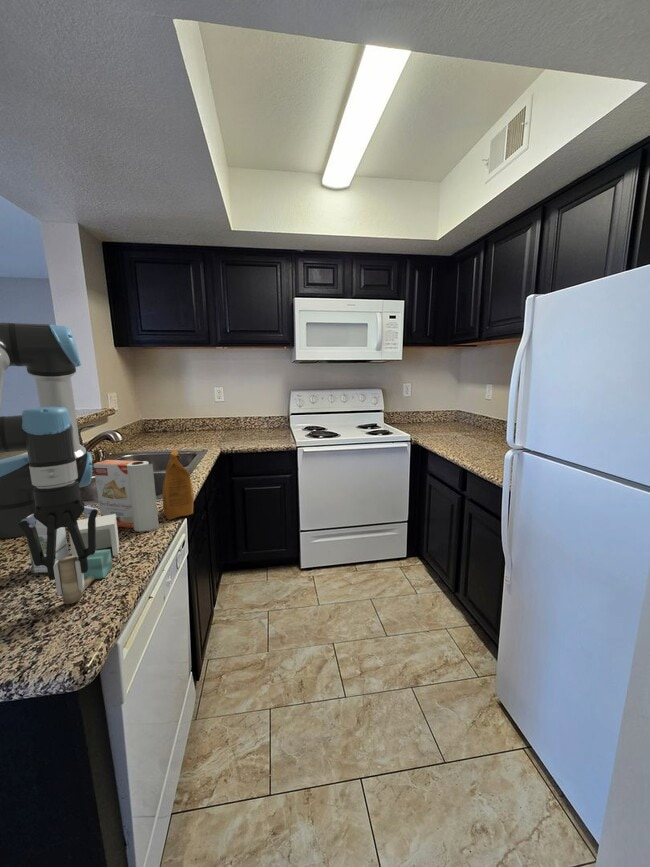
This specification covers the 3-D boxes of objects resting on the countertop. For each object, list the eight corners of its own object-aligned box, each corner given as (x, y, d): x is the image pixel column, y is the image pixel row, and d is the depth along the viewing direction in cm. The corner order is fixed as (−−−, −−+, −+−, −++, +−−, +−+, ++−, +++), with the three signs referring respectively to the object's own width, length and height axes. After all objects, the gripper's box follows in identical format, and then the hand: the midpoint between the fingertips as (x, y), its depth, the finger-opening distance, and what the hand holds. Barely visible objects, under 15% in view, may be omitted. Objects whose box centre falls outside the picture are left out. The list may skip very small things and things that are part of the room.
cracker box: (100, 526, 116) (91, 463, 113) (115, 519, 122) (107, 458, 118) (136, 529, 112) (128, 464, 109) (150, 522, 118) (143, 460, 115)
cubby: (77, 551, 99) (73, 520, 98) (119, 543, 104) (115, 513, 102) (73, 564, 92) (68, 531, 91) (118, 555, 97) (114, 523, 95)
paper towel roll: (131, 528, 114) (124, 462, 110) (152, 522, 118) (145, 459, 114) (138, 535, 109) (130, 466, 105) (159, 529, 113) (152, 463, 109)
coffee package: (193, 505, 134) (188, 447, 130) (195, 516, 122) (190, 453, 119) (164, 509, 130) (158, 450, 126) (163, 522, 118) (157, 457, 115)
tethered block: (90, 570, 89) (86, 535, 88) (112, 568, 90) (108, 533, 89) (55, 605, 74) (49, 564, 73) (81, 602, 75) (76, 561, 74)
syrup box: (71, 561, 94) (63, 508, 92) (55, 573, 88) (46, 517, 86) (49, 562, 94) (40, 509, 91) (31, 574, 88) (22, 518, 86)
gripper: (-2, 495, 66) (18, 611, 70) (101, 481, 73) (114, 587, 77) (10, 484, 72) (28, 591, 76) (103, 473, 80) (115, 570, 83)
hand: (71, 589), depth 76 cm, fingers closed on tethered block, 3 cm apart
